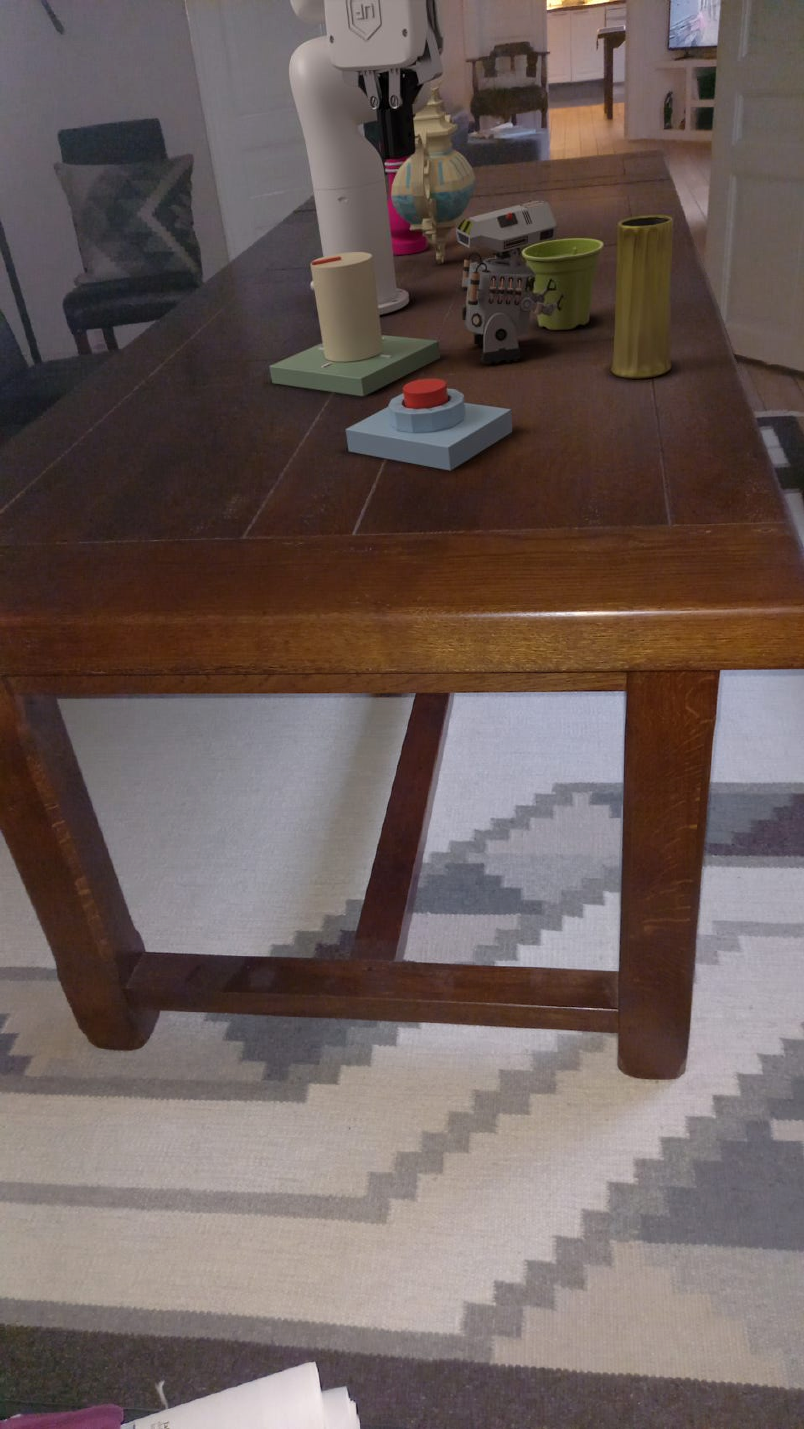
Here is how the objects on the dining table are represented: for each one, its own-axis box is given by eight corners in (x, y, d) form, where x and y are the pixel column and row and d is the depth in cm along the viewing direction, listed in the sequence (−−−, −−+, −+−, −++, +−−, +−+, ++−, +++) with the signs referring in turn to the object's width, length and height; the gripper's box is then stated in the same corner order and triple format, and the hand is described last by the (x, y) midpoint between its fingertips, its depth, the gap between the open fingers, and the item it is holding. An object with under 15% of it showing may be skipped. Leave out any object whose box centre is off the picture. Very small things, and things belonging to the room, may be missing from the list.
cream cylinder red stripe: (371, 340, 116) (359, 246, 110) (392, 353, 111) (380, 255, 105) (317, 352, 115) (302, 257, 109) (335, 366, 109) (320, 267, 103)
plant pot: (601, 332, 115) (601, 253, 110) (521, 337, 117) (517, 259, 112) (604, 311, 122) (604, 235, 117) (528, 316, 125) (526, 242, 120)
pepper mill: (438, 246, 167) (426, 109, 155) (415, 256, 162) (402, 115, 150) (402, 246, 170) (388, 112, 159) (379, 256, 165) (363, 118, 154)
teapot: (462, 280, 145) (444, 34, 127) (387, 284, 148) (359, 45, 130) (490, 244, 163) (477, 25, 145) (423, 249, 166) (403, 35, 148)
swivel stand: (272, 383, 114) (268, 364, 112) (350, 348, 122) (347, 330, 121) (363, 397, 106) (361, 377, 105) (440, 358, 114) (438, 339, 113)
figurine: (571, 355, 110) (570, 206, 101) (469, 368, 110) (459, 221, 101) (556, 333, 117) (554, 193, 108) (460, 346, 117) (450, 207, 108)
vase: (674, 360, 104) (681, 212, 96) (667, 379, 99) (674, 225, 91) (616, 361, 106) (618, 216, 98) (606, 380, 101) (607, 229, 93)
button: (396, 409, 91) (394, 390, 90) (422, 395, 93) (420, 376, 92) (430, 414, 88) (429, 394, 87) (456, 399, 91) (455, 380, 90)
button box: (348, 451, 93) (342, 410, 91) (412, 416, 99) (408, 376, 97) (450, 471, 87) (446, 427, 84) (512, 432, 92) (510, 389, 90)
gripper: (278, -82, 82) (313, 164, 93) (418, -109, 74) (439, 165, 85) (336, -87, 87) (363, 149, 98) (475, -112, 78) (487, 149, 90)
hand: (398, 156), depth 91 cm, fingers closed
